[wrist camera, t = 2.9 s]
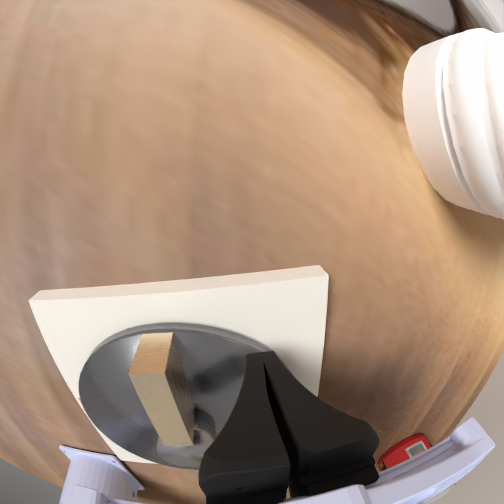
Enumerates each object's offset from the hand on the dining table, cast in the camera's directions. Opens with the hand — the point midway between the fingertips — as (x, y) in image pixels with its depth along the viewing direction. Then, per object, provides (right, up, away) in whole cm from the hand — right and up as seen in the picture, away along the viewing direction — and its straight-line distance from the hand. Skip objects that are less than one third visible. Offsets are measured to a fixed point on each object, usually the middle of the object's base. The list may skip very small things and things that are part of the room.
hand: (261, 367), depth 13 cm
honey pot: (+15, +15, +1) cm, 21 cm away
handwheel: (-5, -5, +3) cm, 8 cm away
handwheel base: (-5, -4, +5) cm, 8 cm away
